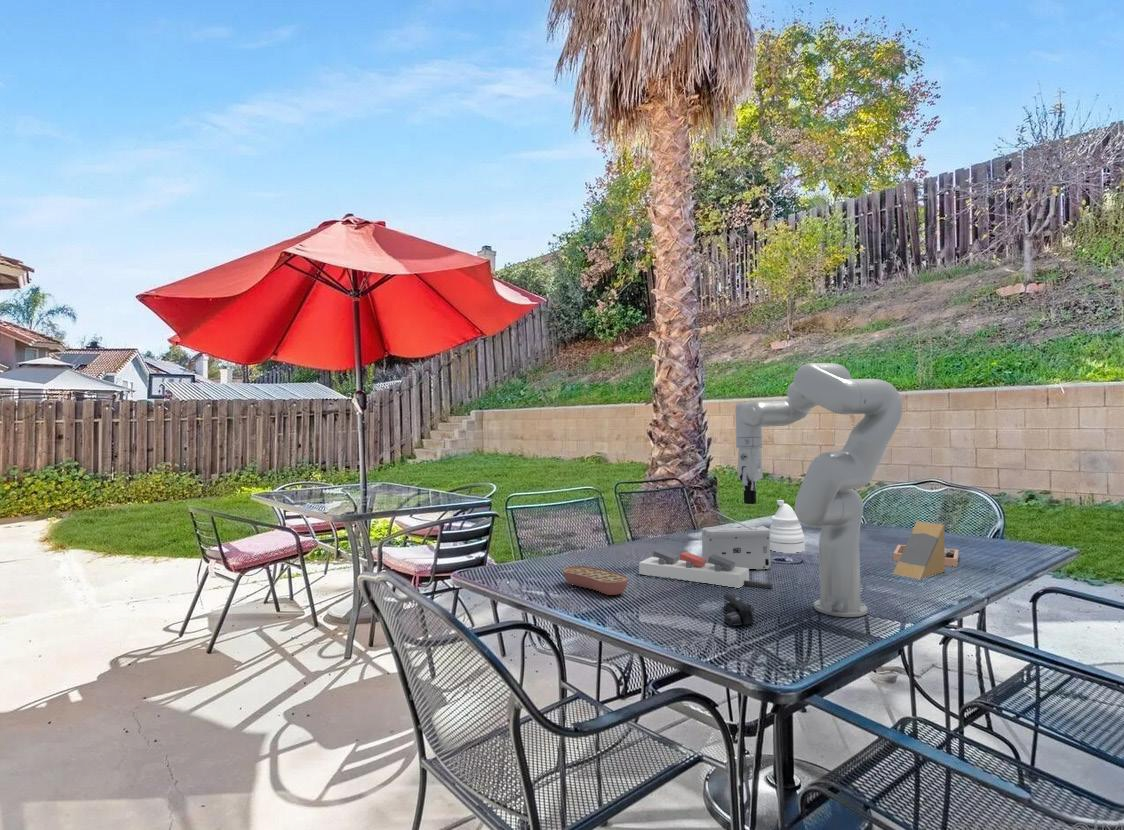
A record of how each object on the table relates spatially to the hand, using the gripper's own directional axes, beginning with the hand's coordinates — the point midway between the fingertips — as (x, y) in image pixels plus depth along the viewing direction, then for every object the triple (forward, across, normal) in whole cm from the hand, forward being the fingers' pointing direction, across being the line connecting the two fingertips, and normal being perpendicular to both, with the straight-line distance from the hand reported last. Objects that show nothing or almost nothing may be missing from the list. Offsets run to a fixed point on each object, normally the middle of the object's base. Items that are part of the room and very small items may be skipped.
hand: (750, 503), depth 194 cm
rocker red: (+18, -7, +16) cm, 25 cm away
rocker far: (+18, -7, +25) cm, 32 cm away
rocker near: (+18, -7, +7) cm, 20 cm away
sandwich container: (+24, +30, -42) cm, 57 cm away
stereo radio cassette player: (+23, +11, +8) cm, 27 cm away
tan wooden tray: (+23, +52, -43) cm, 71 cm away
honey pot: (+23, +46, +1) cm, 52 cm away
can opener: (+24, -36, -7) cm, 43 cm away
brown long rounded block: (+24, -32, +36) cm, 53 cm away
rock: (+24, +52, -44) cm, 72 cm away
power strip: (+23, -7, +12) cm, 27 cm away
